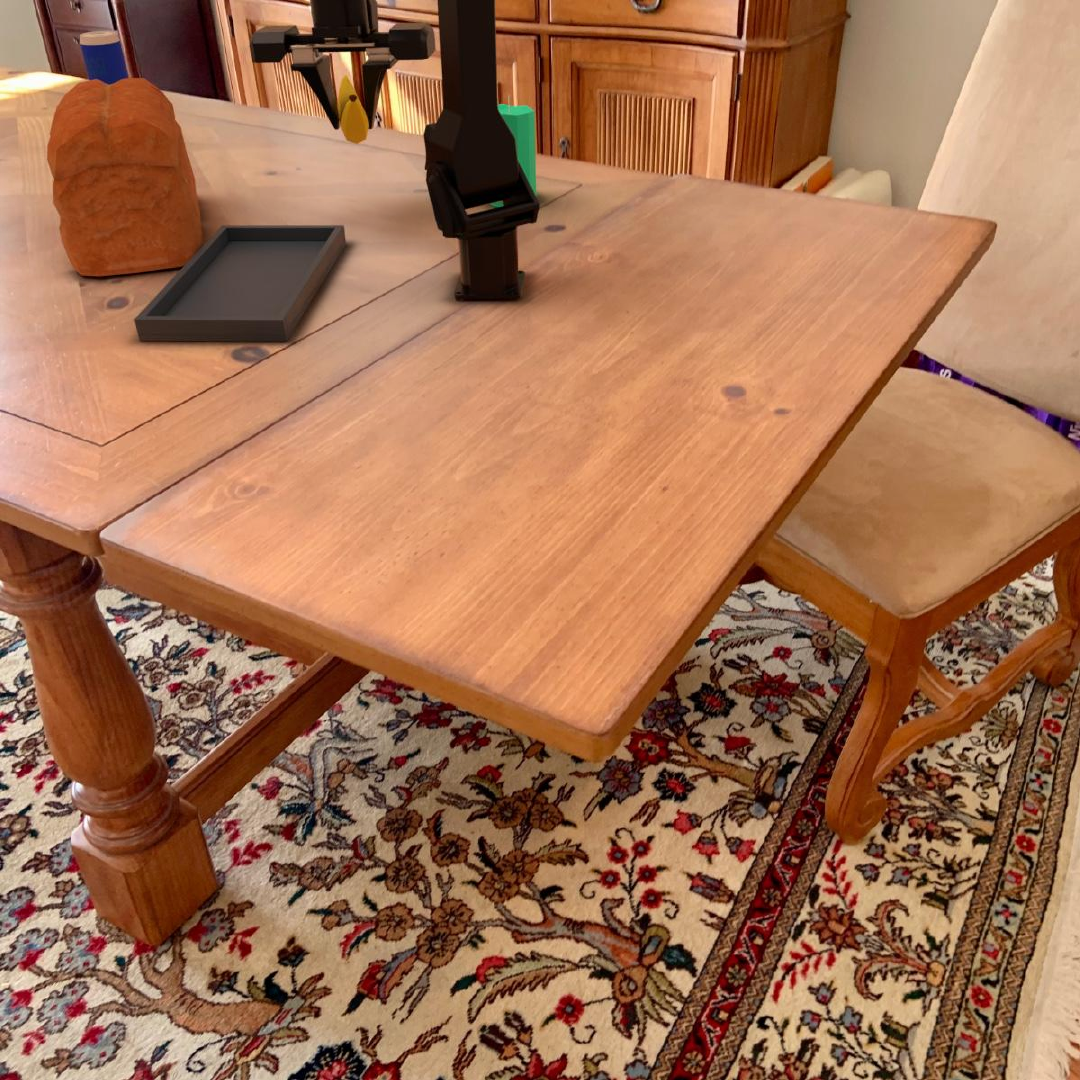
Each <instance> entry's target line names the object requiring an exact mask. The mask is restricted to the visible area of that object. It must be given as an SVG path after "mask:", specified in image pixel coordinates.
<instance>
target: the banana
mask: <svg viewBox="0 0 1080 1080" xmlns="http://www.w3.org/2000/svg"><path fill="white" fill-rule="evenodd" d="M337 107H338V112H339V122H340V130H341V132H342V135H343V137H344V139H345V140H346V142H349V143H351V144H355V145H358V144H360V143H362V142H364V141H366V140H367V138H368V133H369V130H370V129H369V123H368V118H367V115H366V112H365V108H364V107H363V106H362V103H361V101H360V98H359V96H358V94H357V91H356V89H355V87H354V86H353V83H352V82H351V80H350V79H349V76H348V75H343V76H342V78H341V81H340V85H339V89H338V95H337Z"/></svg>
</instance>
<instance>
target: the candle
mask: <svg viewBox="0 0 1080 1080" xmlns="http://www.w3.org/2000/svg"><path fill="white" fill-rule="evenodd" d="M510 102H511V101H510V95H509V94H508V95H507V103H508V104H504V103H498V110H499V112H500V113H501V115H502V117H503V118H504V120H505V122H506V123H507V125H508V127H509V128H510V130H511V132H512V133H513V135H514V137H515V140H516V149H517V158H518V161H519V163H520V165H521V167H522V169H523V171H524V173H525V175H526V178H527V180H528V182H529V184H530V186H531V188H532V190H533V192H534V194H535V196H536V197H537V167H536V166H537V164H536V163H537V162H536V161H537V160H536V116H535V115H536V112H535V110H534V109H533V108H531V107H530V106H529V105H527V104H523V105H511V104H510ZM489 205H491V206H492V207H493V208H497V207H501V206H504V205H503V201H500V202H496V203H492V204H489Z"/></svg>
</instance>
